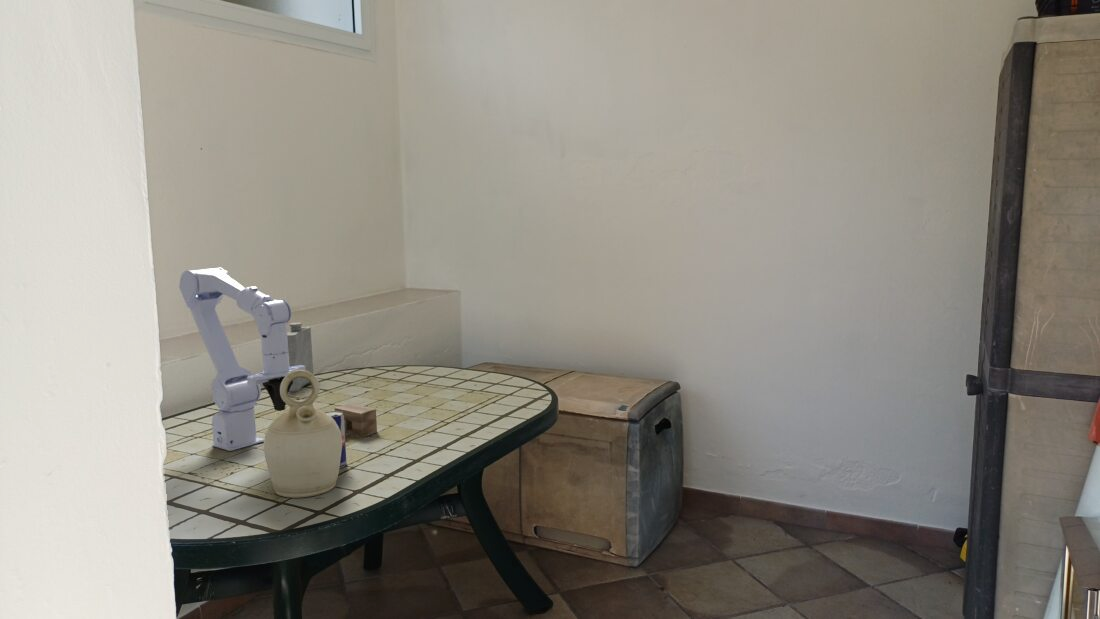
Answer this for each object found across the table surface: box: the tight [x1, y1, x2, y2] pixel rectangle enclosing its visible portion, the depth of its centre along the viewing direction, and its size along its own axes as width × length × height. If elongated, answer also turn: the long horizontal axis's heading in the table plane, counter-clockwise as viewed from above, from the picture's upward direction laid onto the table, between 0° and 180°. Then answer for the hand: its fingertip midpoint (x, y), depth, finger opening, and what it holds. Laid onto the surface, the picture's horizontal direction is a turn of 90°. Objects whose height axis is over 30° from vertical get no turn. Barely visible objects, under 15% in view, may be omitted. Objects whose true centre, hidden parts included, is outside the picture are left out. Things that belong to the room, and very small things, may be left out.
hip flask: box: [287, 322, 314, 392], centre depth 261 cm, size 16×4×20 cm, turn 177°
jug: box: [263, 370, 342, 499], centre depth 170 cm, size 15×16×25 cm
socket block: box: [334, 403, 378, 438], centre depth 211 cm, size 5×10×6 cm, turn 53°
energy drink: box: [323, 410, 348, 470], centre depth 184 cm, size 5×5×12 cm
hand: (279, 409), depth 194 cm, fingers closed
